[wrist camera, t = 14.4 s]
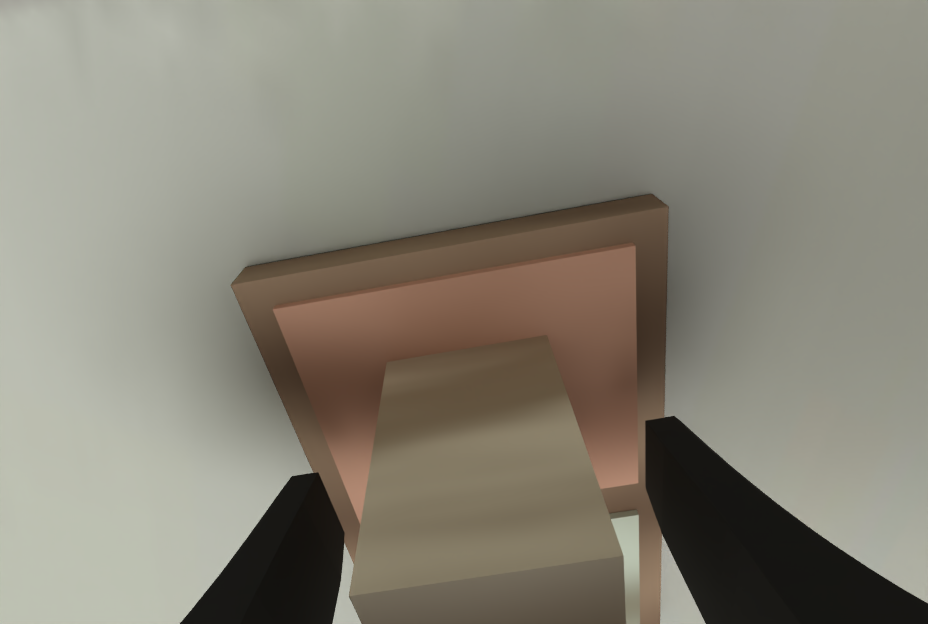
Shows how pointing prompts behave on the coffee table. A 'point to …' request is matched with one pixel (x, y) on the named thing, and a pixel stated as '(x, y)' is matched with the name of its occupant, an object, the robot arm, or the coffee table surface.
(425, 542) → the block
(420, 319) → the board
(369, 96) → the coffee table surface
